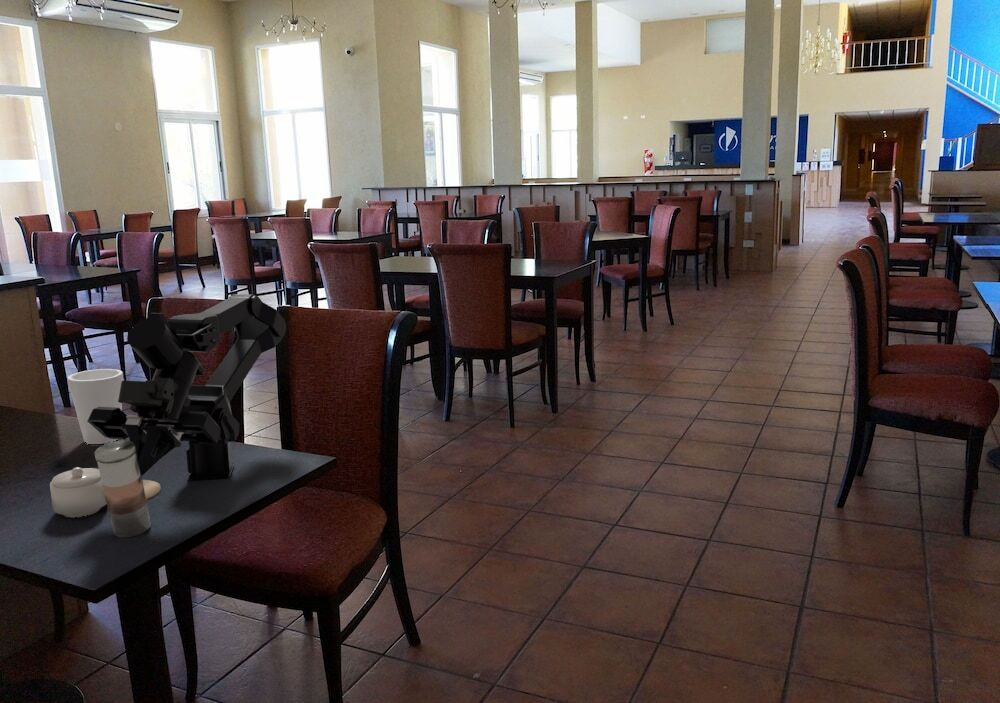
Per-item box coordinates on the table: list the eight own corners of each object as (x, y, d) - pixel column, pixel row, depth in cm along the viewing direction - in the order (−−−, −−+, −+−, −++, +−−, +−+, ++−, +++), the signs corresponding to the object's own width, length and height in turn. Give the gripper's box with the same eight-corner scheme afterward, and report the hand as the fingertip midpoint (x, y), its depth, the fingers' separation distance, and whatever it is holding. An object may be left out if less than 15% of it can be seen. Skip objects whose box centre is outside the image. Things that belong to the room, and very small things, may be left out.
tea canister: (155, 515, 119) (139, 438, 114) (147, 535, 114) (130, 455, 110) (118, 520, 118) (100, 442, 114) (108, 539, 113) (89, 459, 109)
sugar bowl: (115, 499, 127) (110, 457, 126) (100, 519, 120) (95, 475, 118) (64, 502, 126) (58, 460, 124) (46, 522, 118) (40, 478, 117)
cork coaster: (167, 479, 135) (166, 478, 135) (152, 503, 125) (152, 501, 125) (103, 483, 133) (103, 481, 133) (84, 507, 124) (83, 506, 124)
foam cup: (93, 451, 149) (85, 383, 146) (65, 442, 154) (57, 377, 151) (139, 437, 157) (132, 372, 154) (111, 429, 162) (104, 366, 159)
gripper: (88, 354, 119) (44, 448, 111) (205, 359, 117) (169, 456, 108) (125, 392, 129) (88, 482, 120) (234, 397, 126) (203, 489, 117)
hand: (135, 477), depth 116 cm, fingers closed
